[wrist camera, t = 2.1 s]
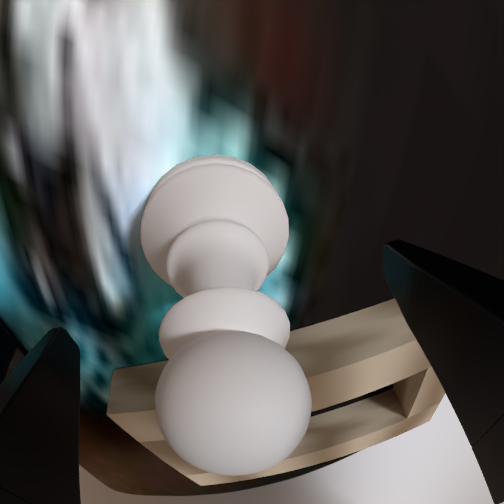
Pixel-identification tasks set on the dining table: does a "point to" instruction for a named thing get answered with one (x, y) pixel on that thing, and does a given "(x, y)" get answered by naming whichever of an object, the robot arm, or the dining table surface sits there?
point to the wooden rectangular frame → (315, 391)
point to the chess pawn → (223, 318)
